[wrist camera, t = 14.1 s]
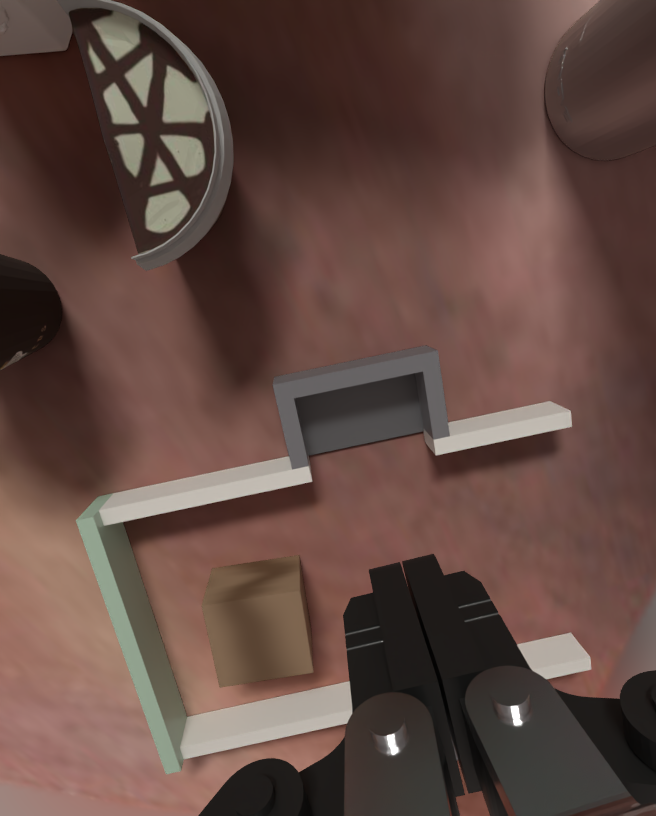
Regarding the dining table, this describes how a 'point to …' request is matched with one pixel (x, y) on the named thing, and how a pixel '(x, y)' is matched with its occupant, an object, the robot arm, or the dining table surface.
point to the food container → (155, 126)
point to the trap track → (305, 435)
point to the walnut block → (258, 621)
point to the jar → (33, 27)
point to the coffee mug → (25, 310)
